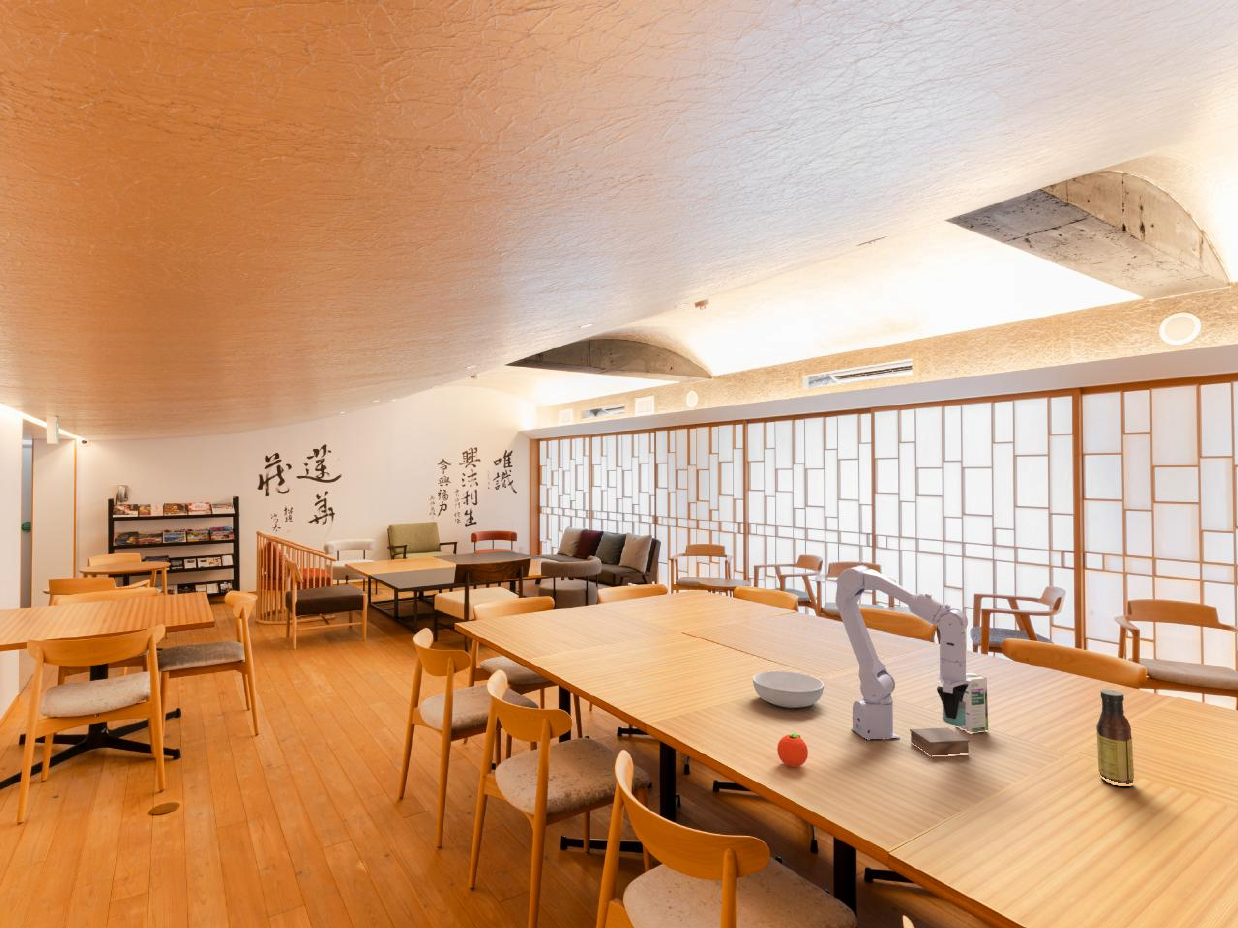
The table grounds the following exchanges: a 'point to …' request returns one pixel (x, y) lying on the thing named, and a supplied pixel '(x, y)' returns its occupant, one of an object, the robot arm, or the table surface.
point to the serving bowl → (788, 688)
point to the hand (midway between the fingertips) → (953, 714)
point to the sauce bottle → (1114, 740)
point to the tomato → (792, 750)
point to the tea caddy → (960, 717)
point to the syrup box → (976, 704)
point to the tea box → (939, 741)
